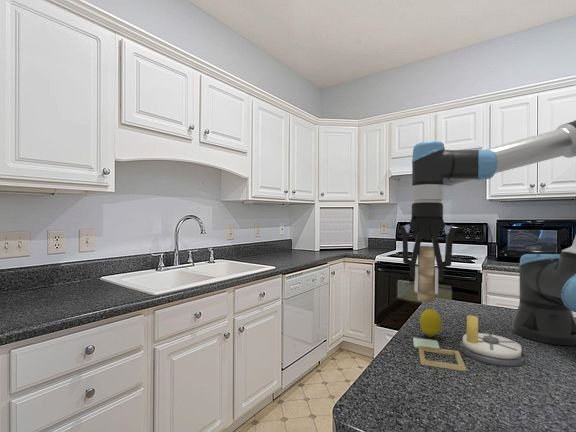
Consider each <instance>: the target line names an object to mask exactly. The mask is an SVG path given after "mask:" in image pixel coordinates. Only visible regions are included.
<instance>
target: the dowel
mask: <svg viewBox="0 0 576 432" xmlns="http://www.w3.org/2000/svg"><path fill="white" fill-rule="evenodd" d="M435 262H436V257H435V249H434V247H433V245H432V246H431V245H420V248H419V252H418V256H417V266H418V292H417V301H419V302H422V303H434V302H435V293H434V279H435V267H436V263H435Z"/></svg>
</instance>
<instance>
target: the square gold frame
mask: <svg viewBox="0 0 576 432" xmlns="http://www.w3.org/2000/svg"><path fill="white" fill-rule="evenodd" d="M439 348H440V347H439ZM439 348H432V347H424V346H418V348H417V349H418V355H419V362H420V365H421V366H422V365H423V366H428V367H434V368H440V369H448V370H454V371H461V372H467V367H466V364H465V362H464V360H463V358H462V356H461V353H460V351H459V350H454V349H446V348H445V349H444V348H440V349H439ZM425 352H427V353H428V352H429V353H433V354H434V353H435V354H440V355H448V356H454V358H455V360H456V363H457V364H455V363H448V362H442V361H436V360H430V359H429V360H428V359H426V358H425V357H426V356H425Z"/></svg>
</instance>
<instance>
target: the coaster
mask: <svg viewBox="0 0 576 432" xmlns="http://www.w3.org/2000/svg"><path fill="white" fill-rule="evenodd" d="M412 342H413V348H415V349H418V346H424V347H432V348H439V349H441V348H440V345H439V342H438V340H435V339H429V338H428V339H426V338H420V337H419V338H418V337H412Z"/></svg>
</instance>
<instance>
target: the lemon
mask: <svg viewBox="0 0 576 432" xmlns="http://www.w3.org/2000/svg"><path fill="white" fill-rule="evenodd" d="M419 326H420V327H419V328H420V329H421V331H422V333H424V334H425V335H427V336H428V338H432V337H435V336H437V335H439V334H440V332H441V330H442V327H443V323H442V318H441V316H440V314H439V312H437V311H436V310H434V308H428V309H425V310H423V311H422V312H421V315H420V317H419Z"/></svg>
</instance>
